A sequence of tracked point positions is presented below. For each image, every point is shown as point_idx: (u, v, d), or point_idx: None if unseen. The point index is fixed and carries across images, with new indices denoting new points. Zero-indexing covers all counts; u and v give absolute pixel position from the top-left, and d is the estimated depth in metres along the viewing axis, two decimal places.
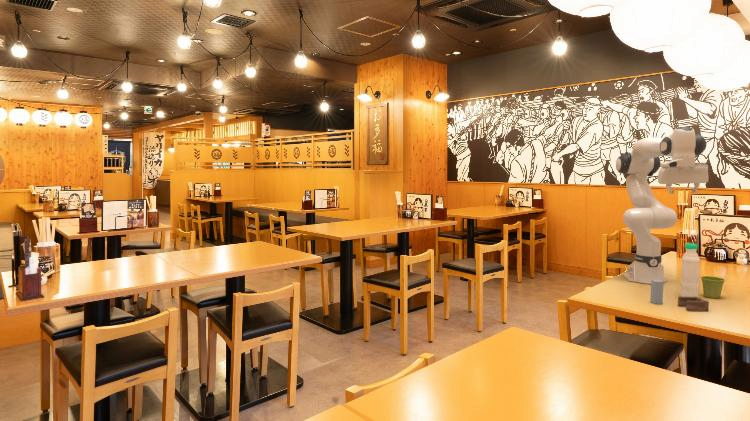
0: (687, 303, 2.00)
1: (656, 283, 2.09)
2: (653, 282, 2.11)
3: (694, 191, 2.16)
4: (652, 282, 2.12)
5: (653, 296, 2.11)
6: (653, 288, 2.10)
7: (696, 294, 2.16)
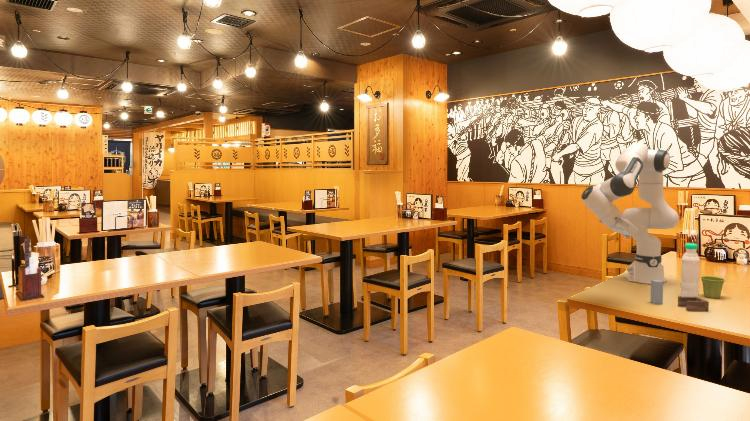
0: (687, 303, 2.00)
1: (656, 283, 2.09)
2: (653, 282, 2.11)
3: (635, 240, 2.08)
4: (652, 282, 2.12)
5: (653, 296, 2.11)
6: (653, 288, 2.10)
7: (696, 294, 2.16)
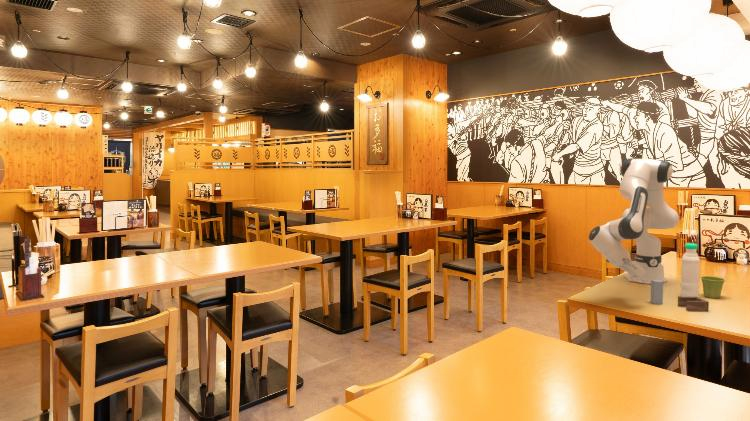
0: (687, 303, 2.00)
1: (656, 283, 2.09)
2: (653, 282, 2.11)
3: (643, 281, 2.07)
4: (652, 282, 2.12)
5: (653, 296, 2.11)
6: (653, 288, 2.10)
7: (696, 294, 2.16)
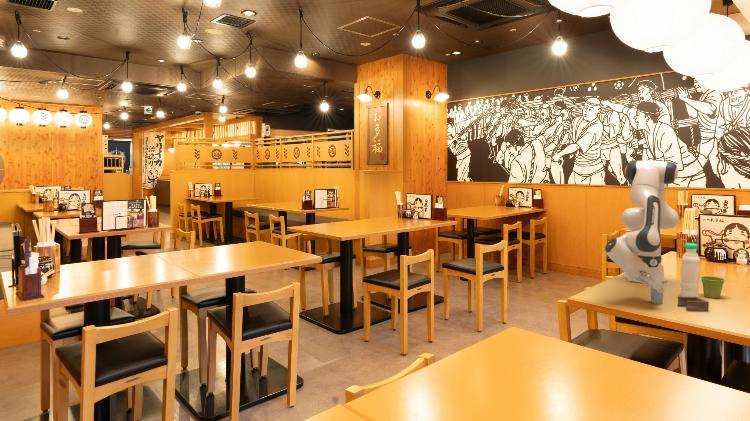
0: (687, 303, 2.00)
1: None
2: None
3: None
4: None
5: (653, 296, 2.11)
6: None
7: (696, 294, 2.16)
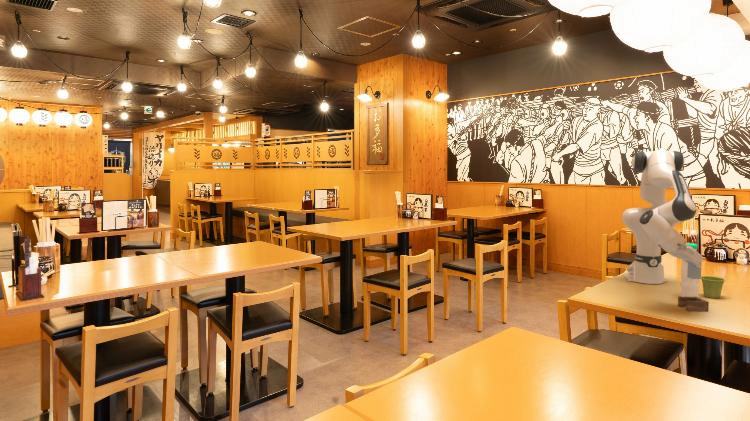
0: (687, 303, 2.00)
1: None
2: None
3: (696, 266, 1.99)
4: None
5: (690, 271, 2.01)
6: (691, 262, 2.00)
7: (696, 294, 2.16)
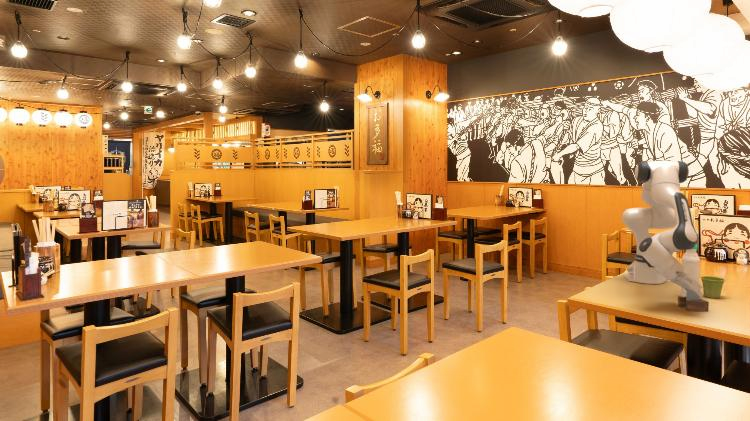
0: (687, 303, 2.00)
1: None
2: None
3: None
4: None
5: None
6: (690, 293, 2.02)
7: None
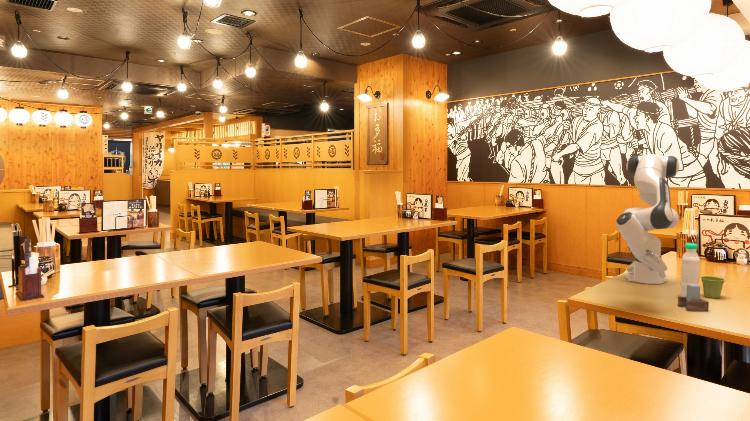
0: (687, 303, 2.00)
1: (693, 288, 2.00)
2: (689, 287, 2.02)
3: (660, 276, 2.01)
4: (688, 287, 2.03)
5: None
6: (690, 293, 2.02)
7: None
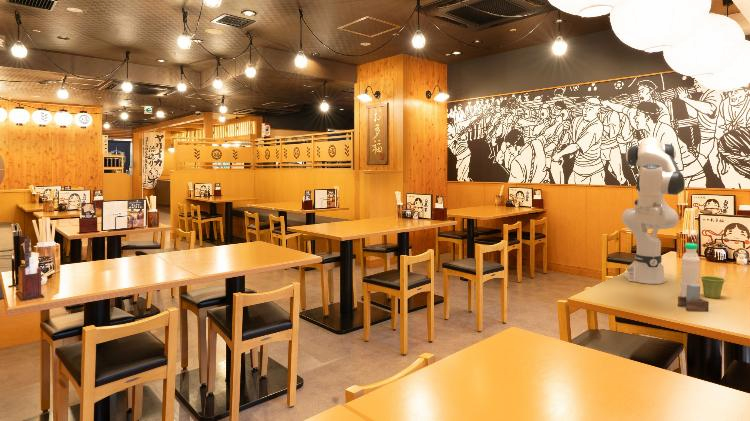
0: (687, 303, 2.00)
1: (693, 288, 2.00)
2: (689, 287, 2.02)
3: (652, 233, 2.03)
4: (688, 287, 2.03)
5: None
6: (690, 293, 2.02)
7: None
